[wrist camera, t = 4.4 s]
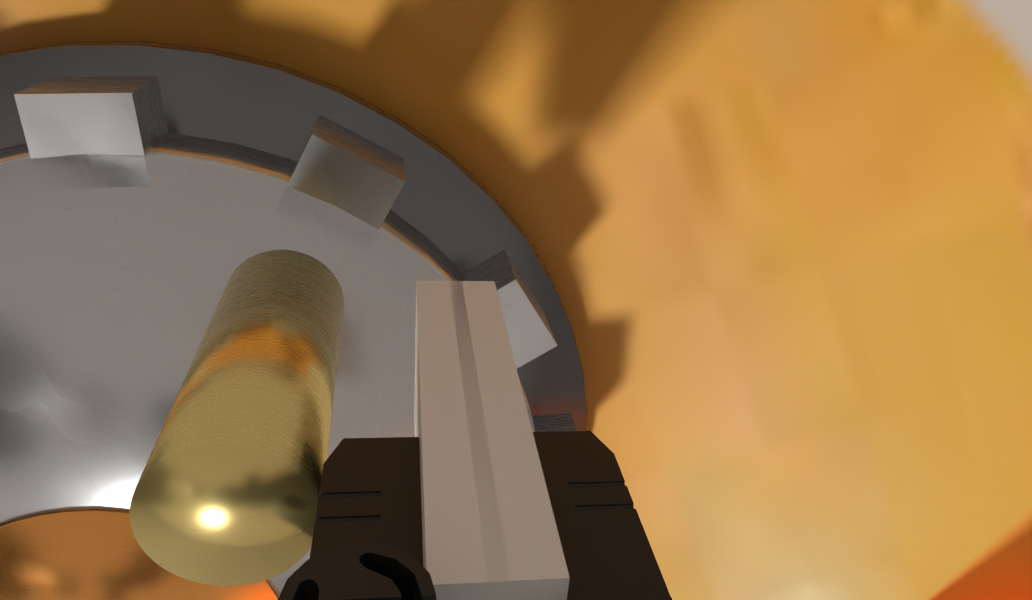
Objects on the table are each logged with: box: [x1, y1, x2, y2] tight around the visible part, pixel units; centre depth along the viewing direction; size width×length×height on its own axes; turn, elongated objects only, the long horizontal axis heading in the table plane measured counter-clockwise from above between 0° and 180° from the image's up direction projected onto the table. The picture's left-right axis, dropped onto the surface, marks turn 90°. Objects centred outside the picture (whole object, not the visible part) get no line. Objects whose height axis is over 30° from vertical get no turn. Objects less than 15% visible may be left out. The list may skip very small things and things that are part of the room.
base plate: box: [0, 42, 586, 431], centre depth 18 cm, size 19×19×1 cm
